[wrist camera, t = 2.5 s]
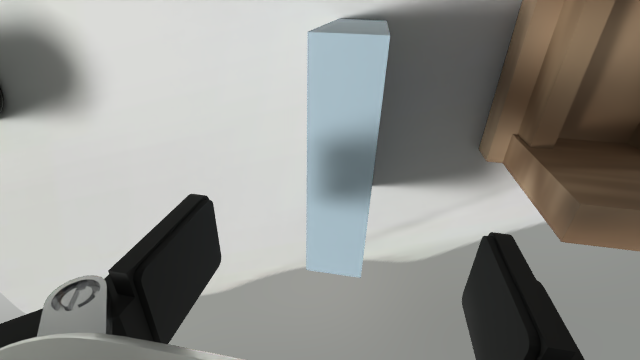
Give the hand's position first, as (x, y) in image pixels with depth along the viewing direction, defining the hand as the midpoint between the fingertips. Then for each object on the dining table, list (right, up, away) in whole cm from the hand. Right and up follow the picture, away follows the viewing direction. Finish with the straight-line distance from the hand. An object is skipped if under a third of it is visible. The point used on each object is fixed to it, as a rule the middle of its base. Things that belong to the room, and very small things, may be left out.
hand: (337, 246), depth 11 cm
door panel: (+2, +7, +12) cm, 14 cm away
